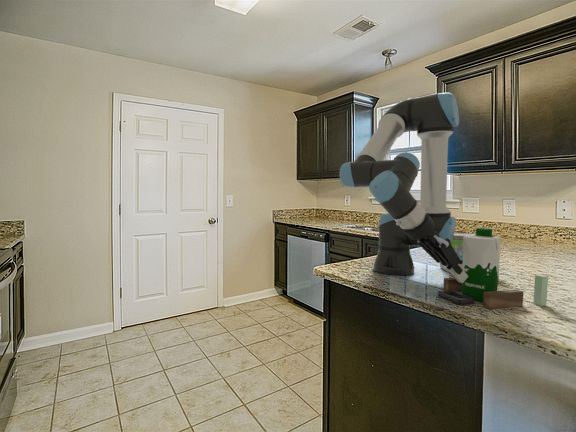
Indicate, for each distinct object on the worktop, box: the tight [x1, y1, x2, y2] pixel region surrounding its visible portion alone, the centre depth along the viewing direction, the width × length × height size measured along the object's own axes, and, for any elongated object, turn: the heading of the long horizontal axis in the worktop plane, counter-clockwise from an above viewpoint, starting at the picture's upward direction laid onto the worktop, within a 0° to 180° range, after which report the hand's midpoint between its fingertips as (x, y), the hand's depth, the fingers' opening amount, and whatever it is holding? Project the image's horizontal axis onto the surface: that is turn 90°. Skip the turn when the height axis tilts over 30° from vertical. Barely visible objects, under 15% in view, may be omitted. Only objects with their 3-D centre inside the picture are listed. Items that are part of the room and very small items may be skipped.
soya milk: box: [461, 227, 501, 303], centre depth 94 cm, size 9×9×20 cm
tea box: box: [439, 232, 476, 274], centre depth 129 cm, size 15×10×15 cm, turn 86°
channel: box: [442, 276, 524, 310], centre depth 95 cm, size 17×11×4 cm, turn 15°
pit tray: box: [437, 290, 475, 306], centre depth 93 cm, size 8×5×2 cm, turn 15°
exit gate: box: [532, 274, 549, 307], centre depth 98 cm, size 19×2×8 cm, turn 15°
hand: (463, 279), depth 93 cm, fingers closed
